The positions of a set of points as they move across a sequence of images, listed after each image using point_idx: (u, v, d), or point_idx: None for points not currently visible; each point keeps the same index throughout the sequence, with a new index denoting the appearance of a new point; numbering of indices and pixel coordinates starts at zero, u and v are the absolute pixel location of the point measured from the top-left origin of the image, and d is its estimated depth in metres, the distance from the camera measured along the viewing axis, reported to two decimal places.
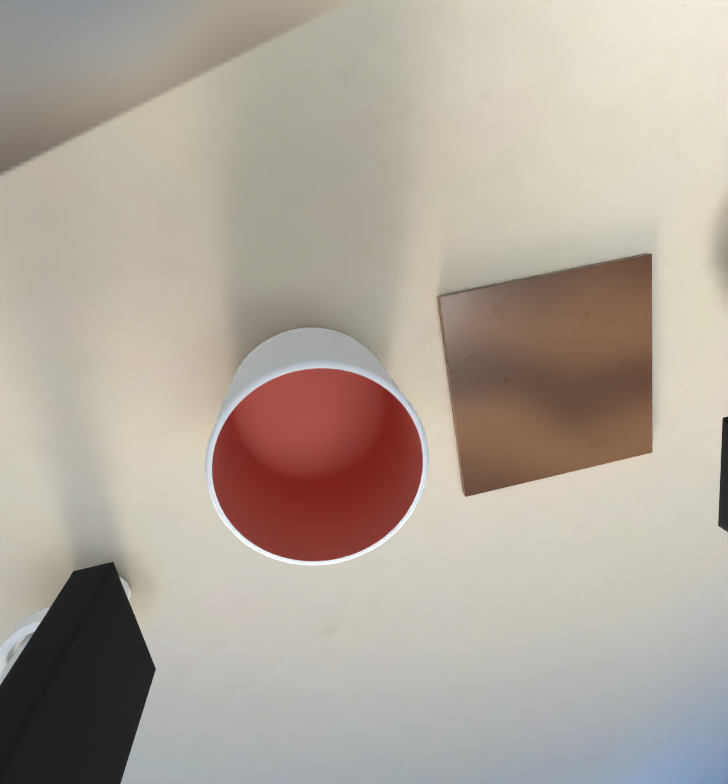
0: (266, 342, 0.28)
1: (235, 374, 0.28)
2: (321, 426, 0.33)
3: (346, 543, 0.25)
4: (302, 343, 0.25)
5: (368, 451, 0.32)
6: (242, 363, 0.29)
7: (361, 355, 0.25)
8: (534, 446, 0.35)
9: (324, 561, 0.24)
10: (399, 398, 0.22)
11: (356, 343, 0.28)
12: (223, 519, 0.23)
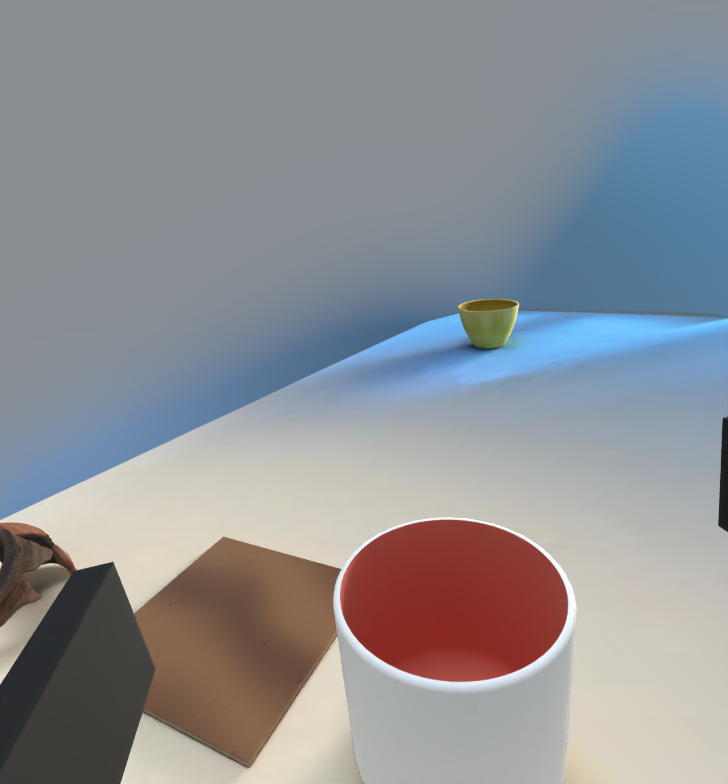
0: None
1: None
2: None
3: (471, 538, 0.26)
4: (402, 755, 0.19)
5: (425, 652, 0.29)
6: None
7: (350, 693, 0.21)
8: (291, 582, 0.37)
9: (494, 526, 0.25)
10: (338, 599, 0.21)
11: (356, 749, 0.23)
12: (571, 592, 0.21)
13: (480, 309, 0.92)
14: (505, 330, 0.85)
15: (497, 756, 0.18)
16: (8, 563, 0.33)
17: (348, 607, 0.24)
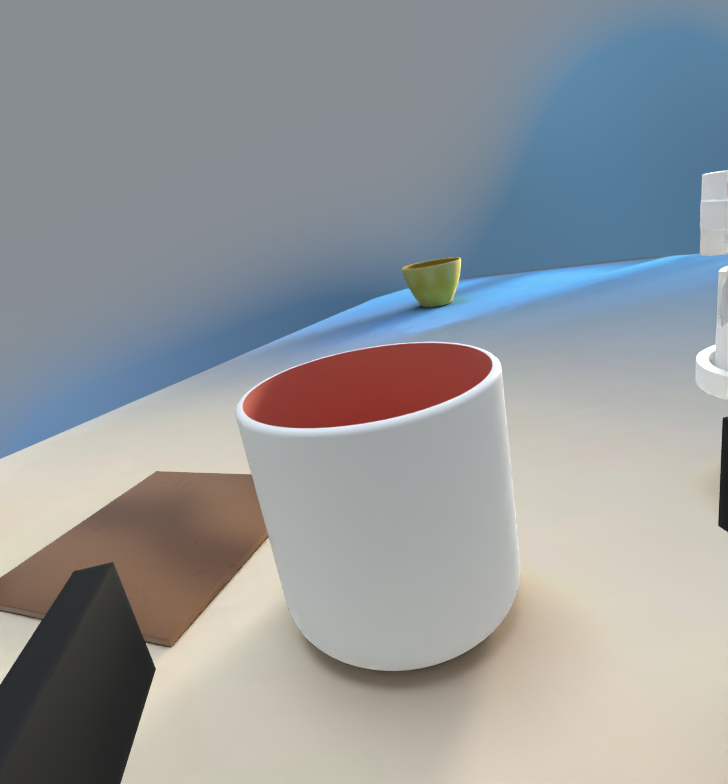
0: (398, 638, 0.17)
1: (466, 609, 0.17)
2: None
3: (397, 365, 0.24)
4: (320, 545, 0.16)
5: None
6: (450, 624, 0.17)
7: (263, 505, 0.18)
8: (227, 493, 0.34)
9: (418, 343, 0.23)
10: (240, 404, 0.19)
11: (283, 584, 0.20)
12: (496, 359, 0.19)
13: None
14: (450, 285, 0.85)
15: (425, 520, 0.16)
16: None
17: None
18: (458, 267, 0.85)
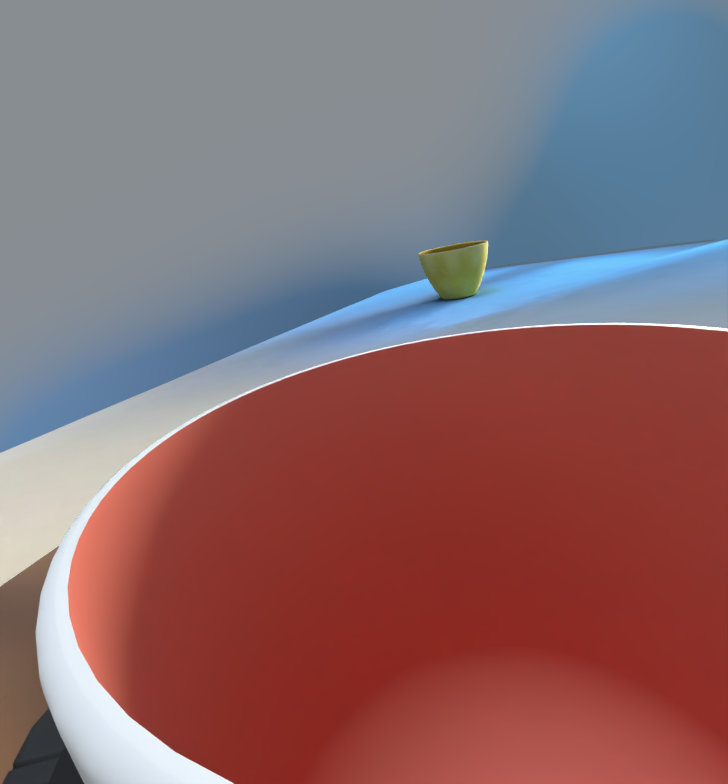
0: None
1: None
2: None
3: (498, 376, 0.11)
4: None
5: (425, 671, 0.13)
6: None
7: None
8: None
9: (553, 327, 0.10)
10: (87, 512, 0.06)
11: None
12: None
13: None
14: (476, 272, 0.72)
15: None
16: None
17: (183, 562, 0.08)
18: (485, 251, 0.72)
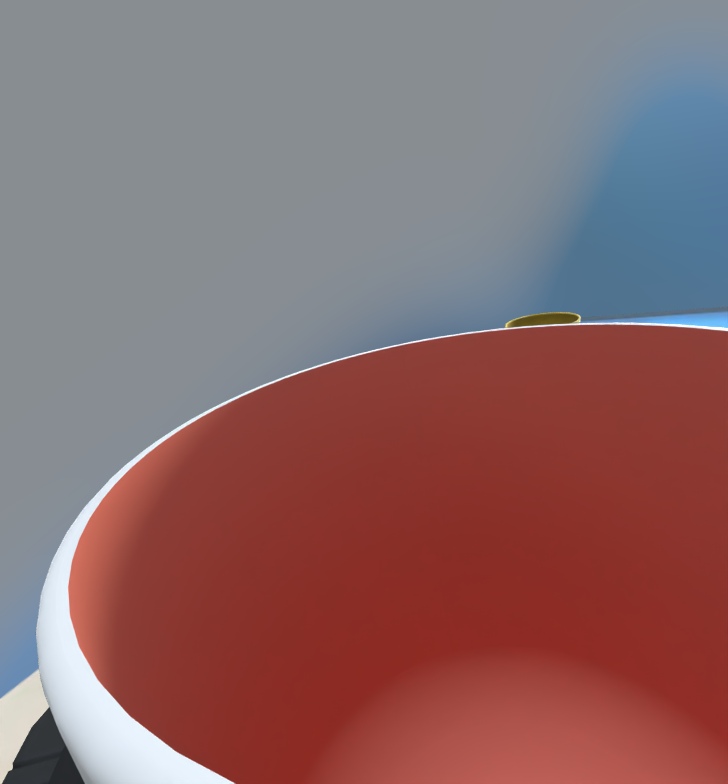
0: None
1: None
2: None
3: (498, 376, 0.11)
4: None
5: (425, 670, 0.13)
6: None
7: None
8: None
9: (554, 326, 0.10)
10: (87, 511, 0.06)
11: None
12: None
13: None
14: None
15: None
16: None
17: (183, 562, 0.08)
18: None
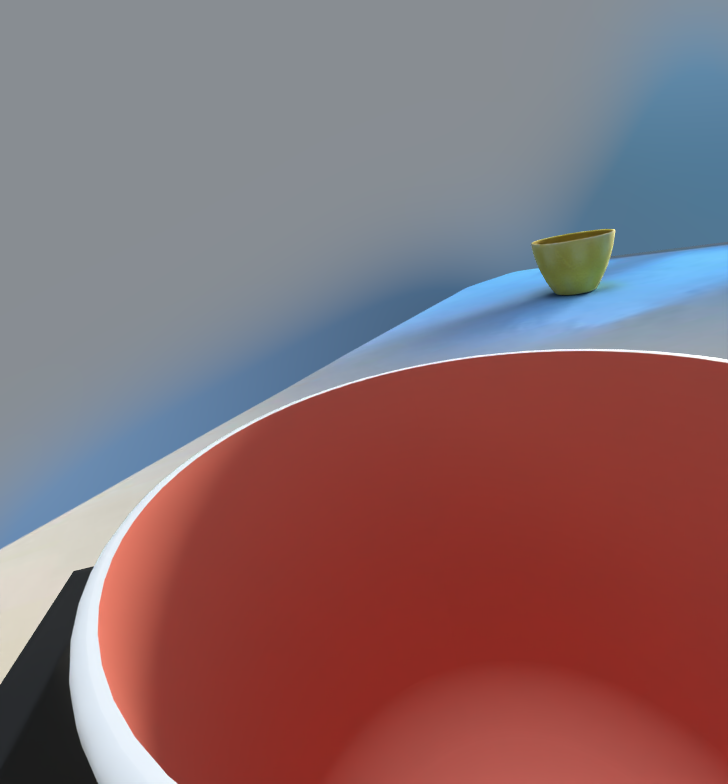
0: None
1: None
2: None
3: (504, 399, 0.11)
4: None
5: (431, 685, 0.14)
6: None
7: None
8: None
9: (558, 352, 0.10)
10: (110, 551, 0.06)
11: None
12: None
13: None
14: (602, 265, 0.64)
15: None
16: None
17: (198, 590, 0.08)
18: (613, 241, 0.64)
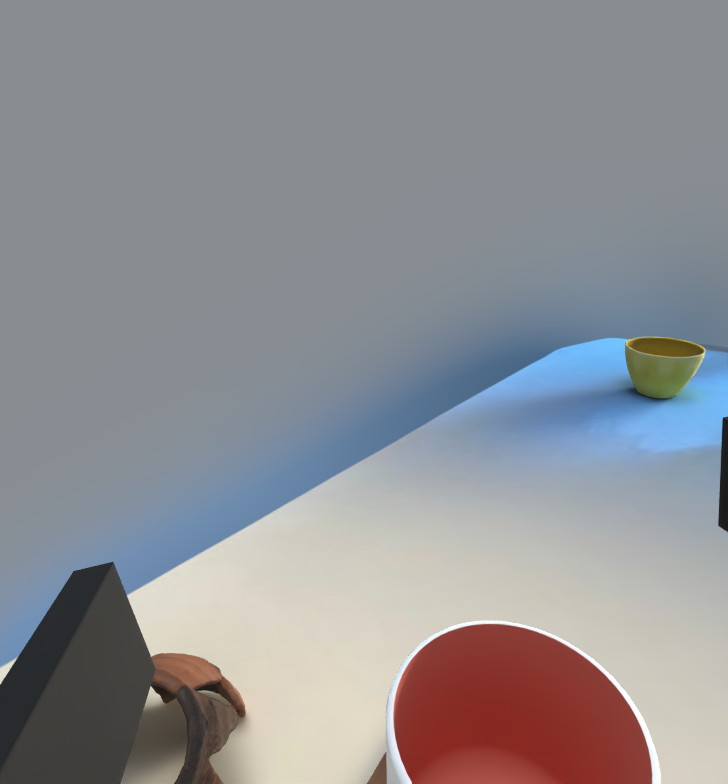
0: None
1: None
2: None
3: (536, 648, 0.24)
4: None
5: (469, 748, 0.27)
6: None
7: None
8: None
9: (565, 644, 0.23)
10: (391, 720, 0.20)
11: None
12: (655, 758, 0.18)
13: (646, 348, 0.78)
14: (685, 380, 0.71)
15: None
16: (195, 750, 0.24)
17: (398, 716, 0.22)
18: (701, 361, 0.71)
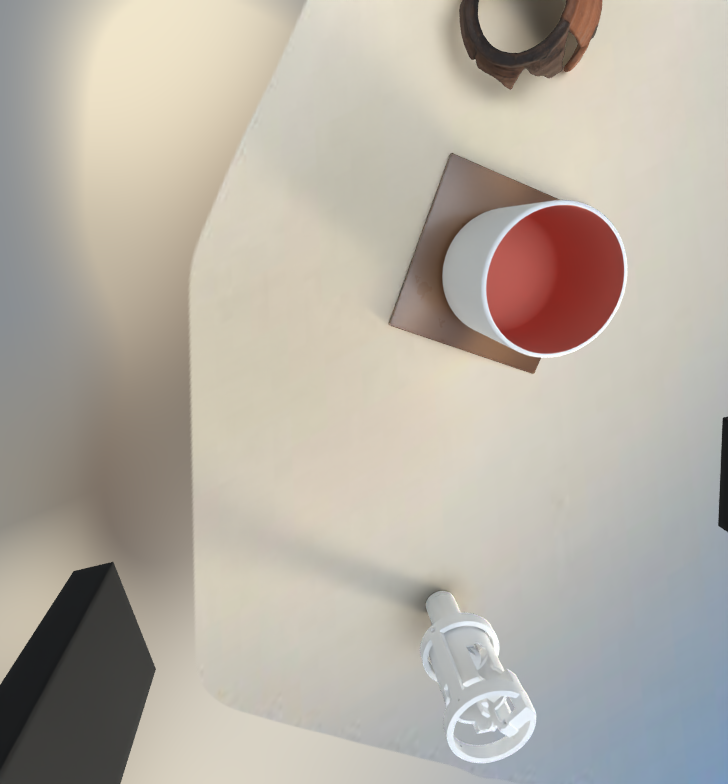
0: (446, 274, 0.39)
1: (453, 305, 0.40)
2: (516, 275, 0.42)
3: (609, 298, 0.35)
4: (468, 248, 0.35)
5: (555, 253, 0.41)
6: (449, 297, 0.40)
7: (501, 215, 0.34)
8: None
9: (610, 316, 0.34)
10: (548, 205, 0.31)
11: (484, 215, 0.38)
12: (543, 356, 0.34)
13: None
14: None
15: (465, 300, 0.36)
16: (526, 58, 0.33)
17: (557, 207, 0.33)
18: None
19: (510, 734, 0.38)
